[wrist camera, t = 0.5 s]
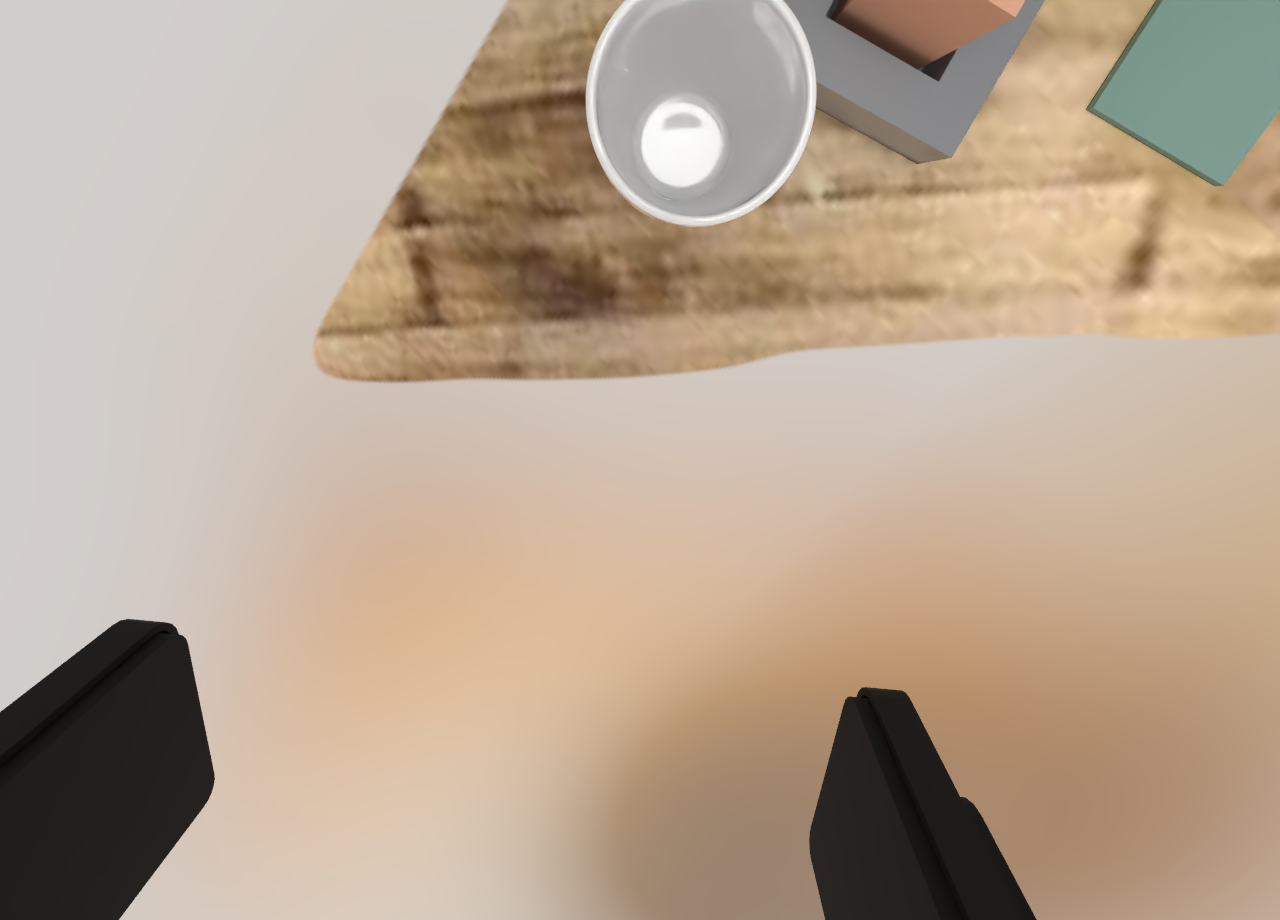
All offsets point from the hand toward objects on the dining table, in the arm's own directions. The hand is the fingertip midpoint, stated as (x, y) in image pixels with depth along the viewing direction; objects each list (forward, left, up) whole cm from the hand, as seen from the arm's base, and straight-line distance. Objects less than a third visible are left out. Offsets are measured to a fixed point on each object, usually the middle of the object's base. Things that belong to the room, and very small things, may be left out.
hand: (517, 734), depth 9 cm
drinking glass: (-10, -1, -29) cm, 31 cm away
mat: (-24, +20, -29) cm, 42 cm away
